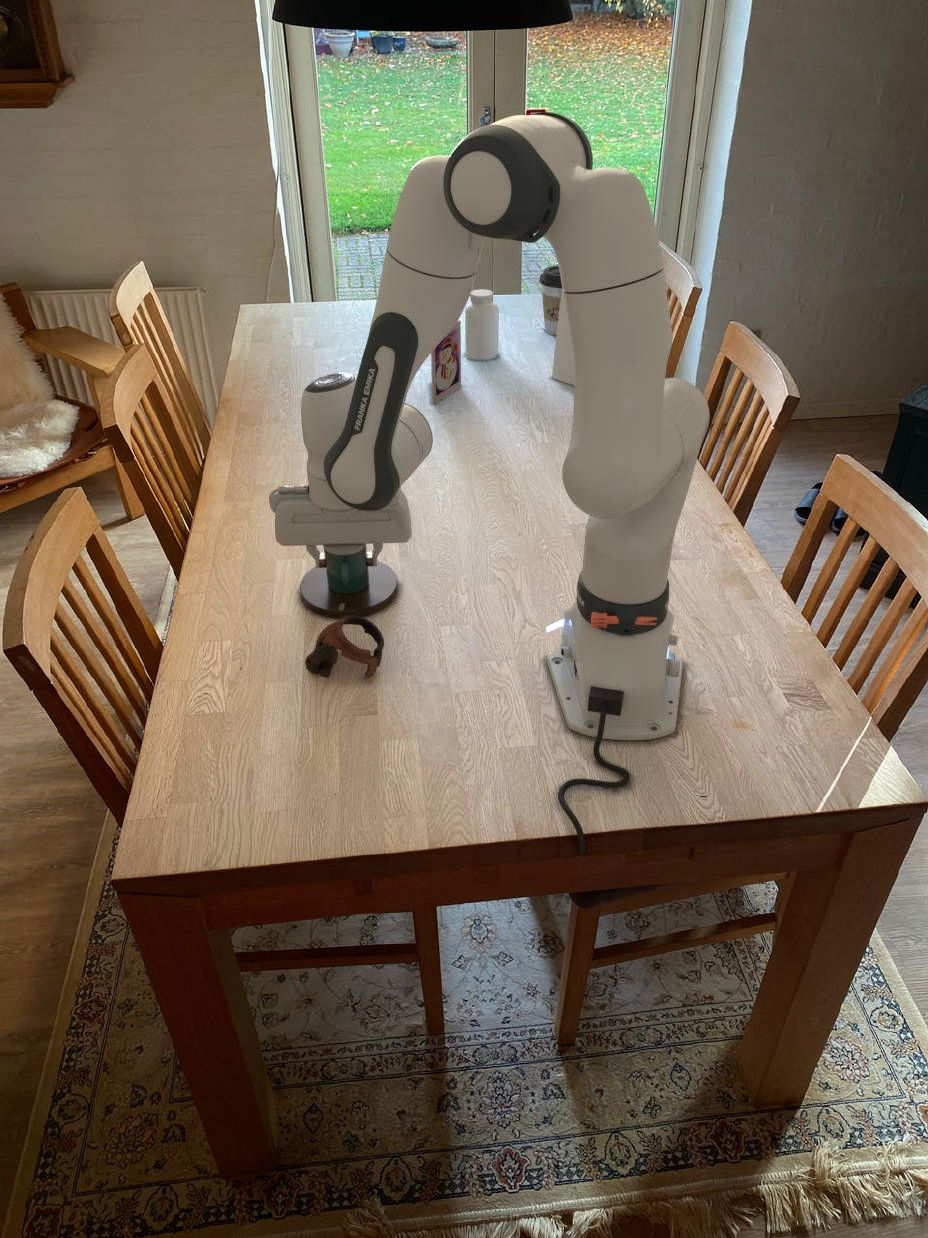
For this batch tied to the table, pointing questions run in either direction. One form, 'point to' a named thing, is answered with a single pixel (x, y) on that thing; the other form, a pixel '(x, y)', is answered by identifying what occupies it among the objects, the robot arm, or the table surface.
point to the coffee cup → (551, 297)
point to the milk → (563, 349)
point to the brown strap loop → (344, 647)
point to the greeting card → (446, 364)
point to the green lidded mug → (346, 567)
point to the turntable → (358, 603)
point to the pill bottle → (481, 326)
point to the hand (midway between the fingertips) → (347, 565)
